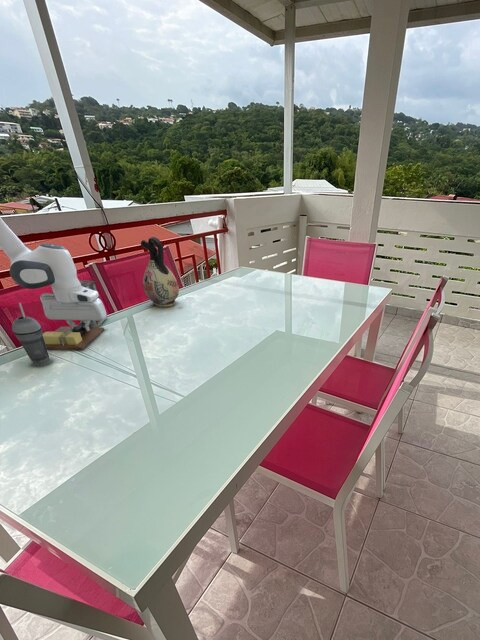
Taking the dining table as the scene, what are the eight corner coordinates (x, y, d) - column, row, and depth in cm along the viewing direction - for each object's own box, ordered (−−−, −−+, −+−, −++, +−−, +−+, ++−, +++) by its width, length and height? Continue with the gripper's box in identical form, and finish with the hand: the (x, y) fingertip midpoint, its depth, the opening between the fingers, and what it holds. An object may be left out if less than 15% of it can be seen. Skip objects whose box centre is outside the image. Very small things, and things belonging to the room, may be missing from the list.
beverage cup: (38, 357, 110) (12, 298, 99) (60, 358, 110) (36, 299, 99) (23, 367, 104) (-7, 306, 93) (46, 369, 104) (18, 307, 93)
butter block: (42, 344, 116) (39, 336, 114) (49, 339, 119) (45, 331, 117) (60, 344, 116) (57, 336, 115) (66, 339, 120) (63, 331, 118)
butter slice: (67, 344, 116) (64, 336, 115) (73, 339, 120) (71, 332, 118) (76, 344, 117) (73, 336, 115) (82, 340, 120) (79, 332, 118)
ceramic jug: (140, 304, 157) (124, 235, 140) (167, 297, 167) (156, 231, 150) (162, 313, 149) (149, 240, 132) (190, 304, 160) (180, 236, 143)
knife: (59, 345, 114) (56, 337, 113) (84, 327, 128) (82, 319, 127) (67, 345, 115) (63, 337, 113) (91, 327, 129) (88, 319, 127)
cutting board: (34, 349, 115) (33, 346, 114) (62, 329, 129) (61, 326, 129) (82, 350, 116) (81, 347, 115) (104, 330, 131) (103, 327, 130)
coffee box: (90, 319, 139) (77, 279, 130) (106, 319, 140) (95, 280, 131) (80, 327, 132) (66, 286, 123) (98, 327, 133) (85, 286, 123)
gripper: (32, 295, 113) (48, 333, 121) (94, 297, 115) (105, 334, 123) (43, 290, 119) (57, 326, 126) (102, 292, 120) (112, 327, 128)
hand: (81, 330), depth 125 cm, fingers closed on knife, 2 cm apart
